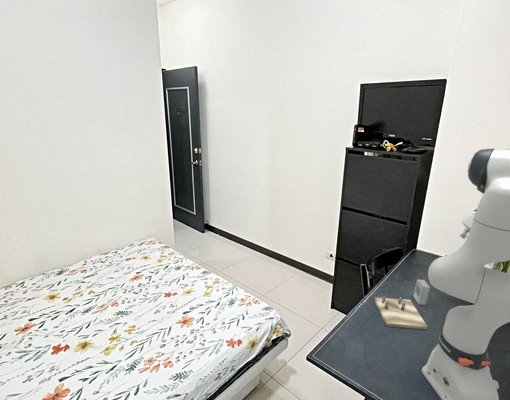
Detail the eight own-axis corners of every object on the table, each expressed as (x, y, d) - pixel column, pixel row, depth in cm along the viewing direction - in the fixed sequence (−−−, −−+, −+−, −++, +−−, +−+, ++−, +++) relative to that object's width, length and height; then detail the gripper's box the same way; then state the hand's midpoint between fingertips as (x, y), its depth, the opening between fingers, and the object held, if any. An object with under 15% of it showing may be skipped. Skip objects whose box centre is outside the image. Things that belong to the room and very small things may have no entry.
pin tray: (426, 329, 111) (429, 320, 110) (386, 326, 112) (388, 316, 111) (409, 302, 126) (411, 293, 125) (374, 300, 127) (375, 291, 126)
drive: (425, 305, 125) (430, 287, 122) (418, 304, 125) (422, 286, 122) (420, 297, 130) (424, 279, 127) (413, 296, 130) (416, 279, 128)
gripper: (476, 204, 123) (448, 226, 127) (515, 227, 104) (481, 252, 108) (485, 213, 124) (457, 235, 129) (524, 237, 105) (491, 261, 110)
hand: (468, 243), depth 118 cm, fingers open, 8 cm apart
